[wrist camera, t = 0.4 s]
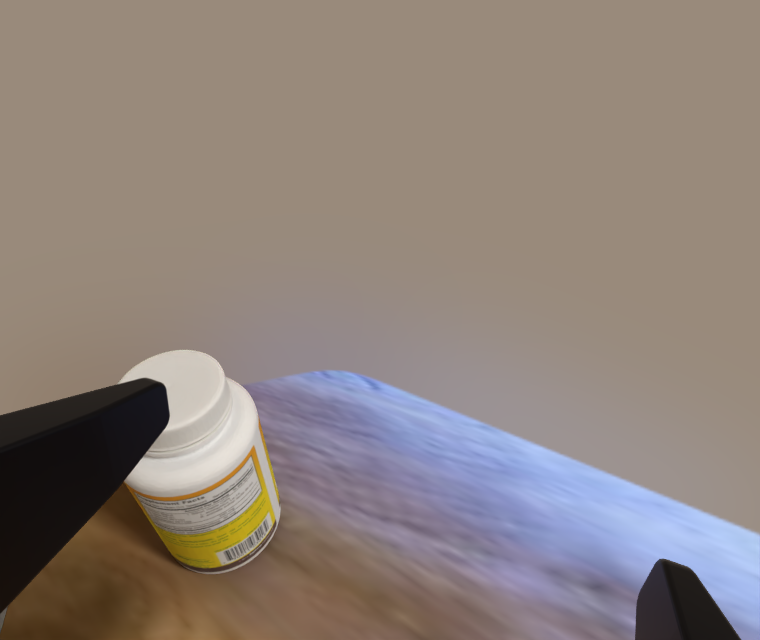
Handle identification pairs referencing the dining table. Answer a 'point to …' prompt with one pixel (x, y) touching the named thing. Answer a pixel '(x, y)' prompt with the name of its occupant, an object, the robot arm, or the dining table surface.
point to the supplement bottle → (206, 467)
